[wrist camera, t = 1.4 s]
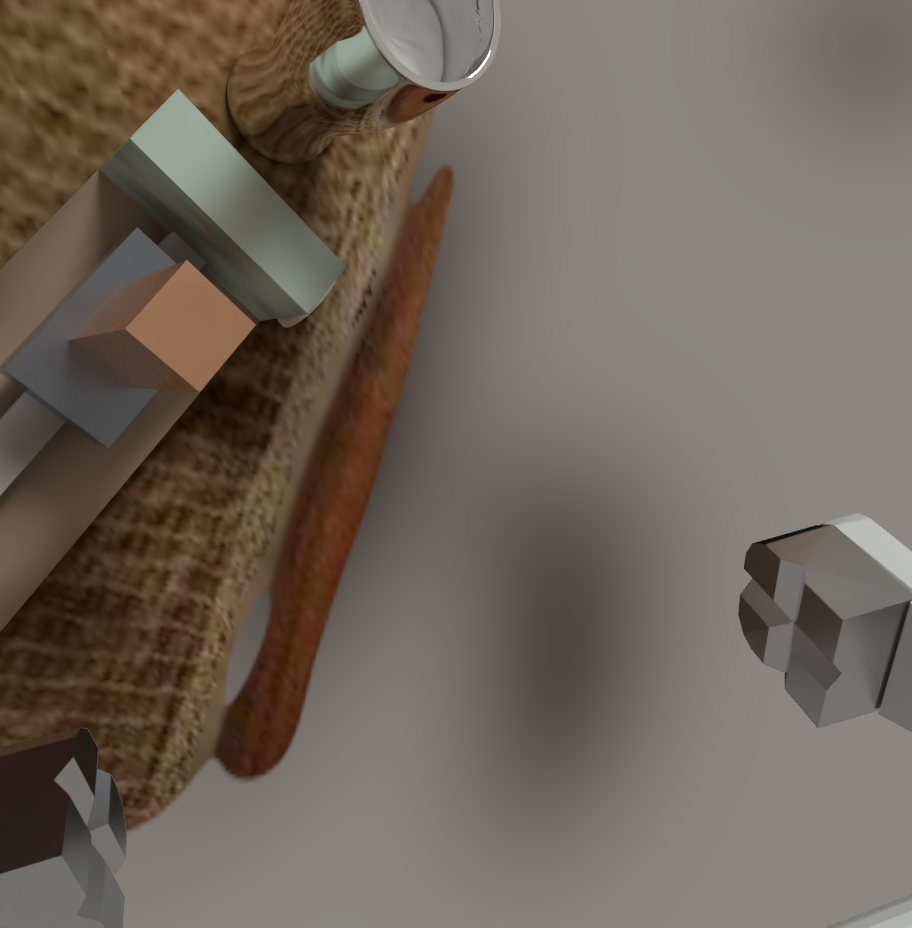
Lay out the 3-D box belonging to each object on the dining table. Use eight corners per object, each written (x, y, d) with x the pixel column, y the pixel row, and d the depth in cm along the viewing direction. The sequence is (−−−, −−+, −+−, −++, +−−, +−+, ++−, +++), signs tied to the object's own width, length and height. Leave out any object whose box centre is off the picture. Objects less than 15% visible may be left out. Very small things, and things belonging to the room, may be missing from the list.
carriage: (-4, 369, 35) (41, 368, 25) (121, 236, 38) (212, 182, 27) (94, 443, 38) (174, 470, 27) (206, 313, 40) (320, 292, 29)
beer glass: (333, 188, 46) (495, 120, 34) (209, 150, 42) (341, 58, 30) (348, 62, 46) (516, -52, 34) (225, 13, 42) (364, -137, 30)
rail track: (-393, 670, 32) (-463, 742, 25) (138, 128, 40) (182, 84, 34) (-128, 786, 37) (-132, 870, 30) (292, 282, 45) (355, 268, 39)
